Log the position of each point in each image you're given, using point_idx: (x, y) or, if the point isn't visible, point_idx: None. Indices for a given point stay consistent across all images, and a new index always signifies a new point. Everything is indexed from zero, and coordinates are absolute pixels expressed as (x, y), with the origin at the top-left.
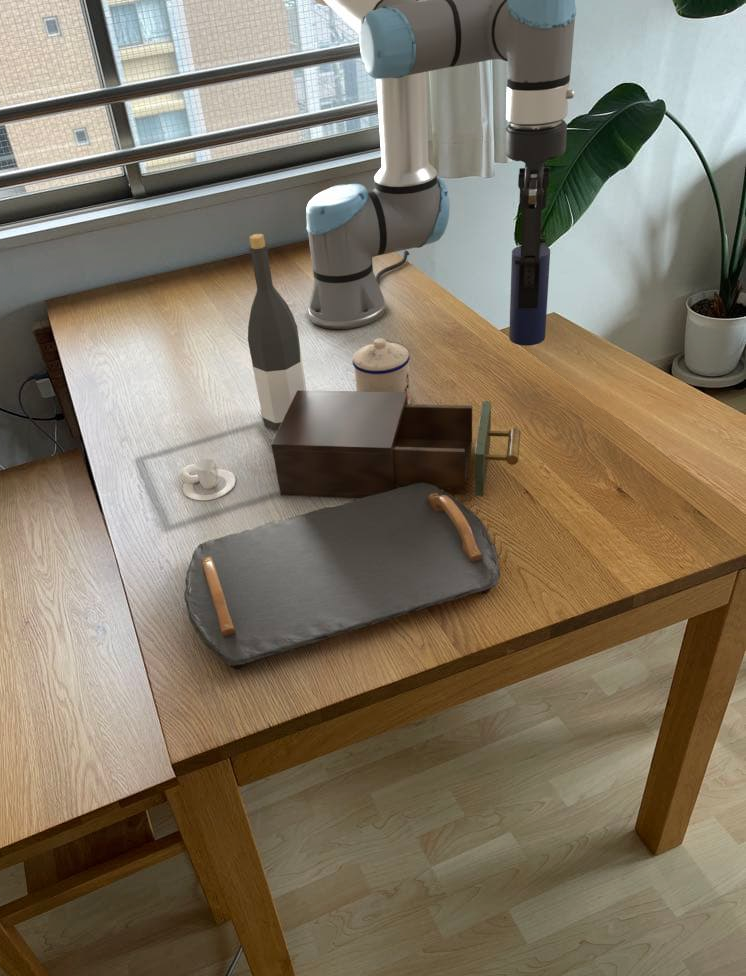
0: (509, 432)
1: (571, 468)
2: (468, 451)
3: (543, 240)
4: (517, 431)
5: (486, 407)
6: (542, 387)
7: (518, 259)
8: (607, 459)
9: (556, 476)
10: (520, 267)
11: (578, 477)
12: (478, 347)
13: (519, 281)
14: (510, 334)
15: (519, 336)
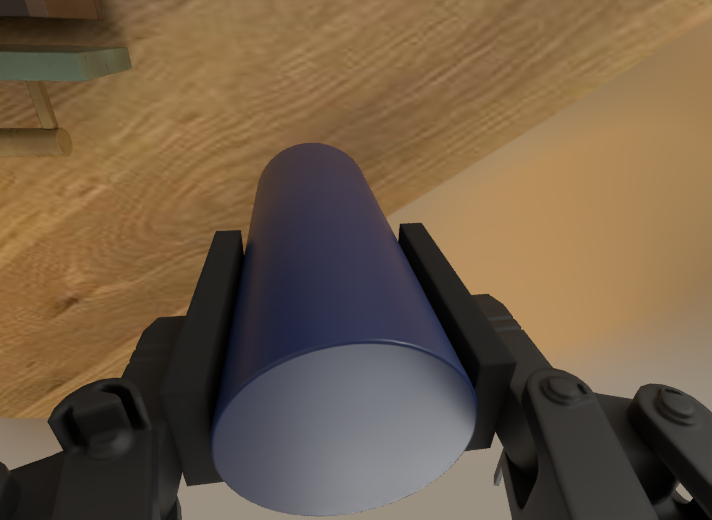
0: (43, 131)
1: (110, 232)
2: (25, 12)
3: (500, 477)
4: (44, 152)
5: (40, 68)
6: (399, 170)
7: (141, 415)
8: (159, 283)
9: (73, 208)
10: (168, 374)
11: (85, 244)
12: (605, 7)
13: (192, 307)
14: (288, 153)
15: (258, 187)
